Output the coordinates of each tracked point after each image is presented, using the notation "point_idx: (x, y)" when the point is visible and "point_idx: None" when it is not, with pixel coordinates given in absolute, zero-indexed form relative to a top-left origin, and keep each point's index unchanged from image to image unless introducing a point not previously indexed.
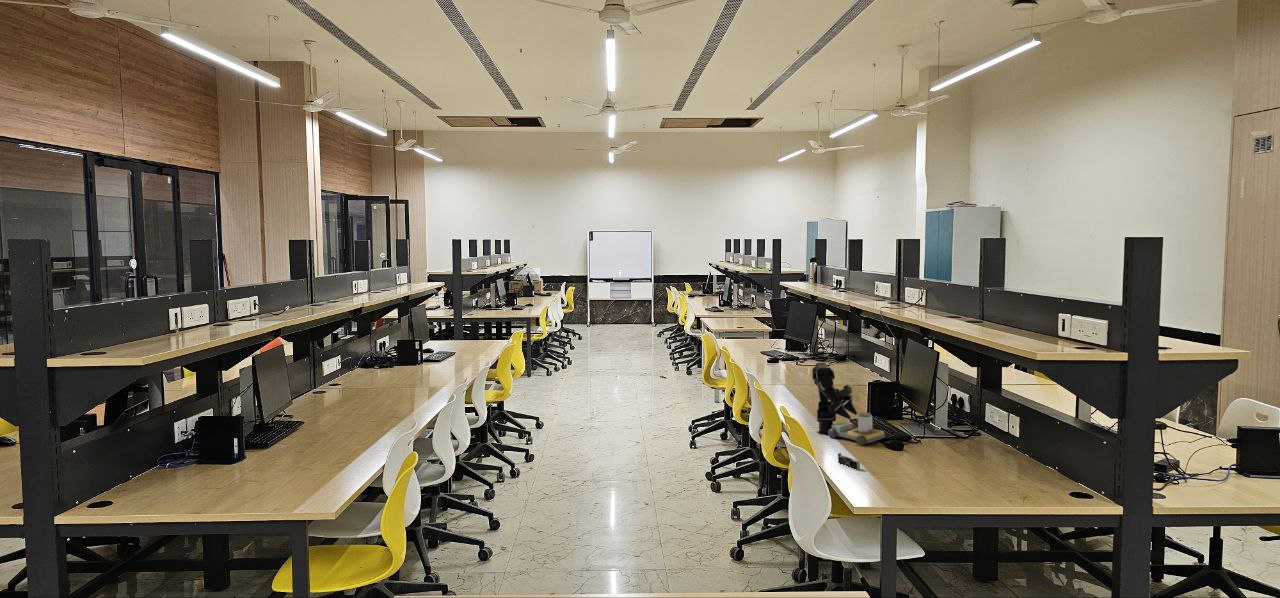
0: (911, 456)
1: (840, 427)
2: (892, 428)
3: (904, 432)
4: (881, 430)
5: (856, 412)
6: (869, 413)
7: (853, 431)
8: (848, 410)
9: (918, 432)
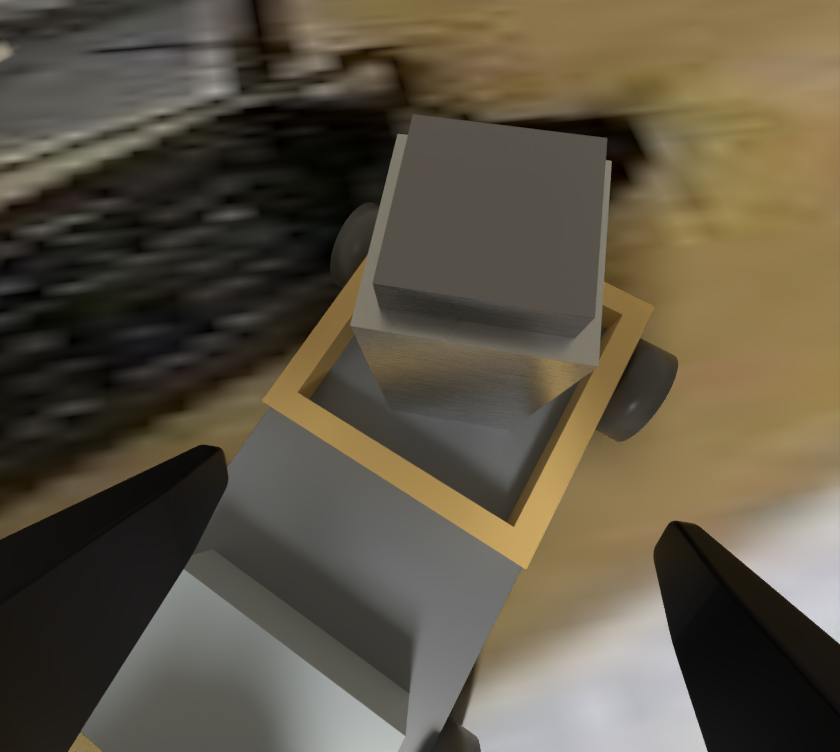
0: (744, 59)
1: (390, 716)
2: (15, 237)
3: (141, 150)
4: (367, 216)
5: (200, 460)
6: (461, 125)
7: (463, 496)
8: (81, 724)
9: (137, 76)
